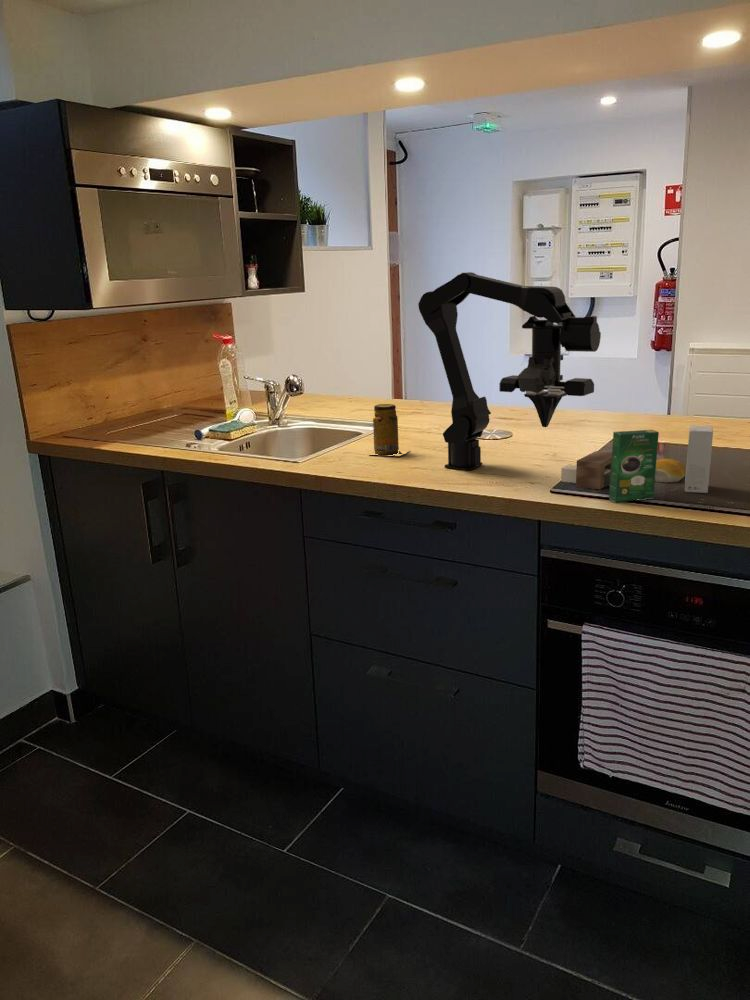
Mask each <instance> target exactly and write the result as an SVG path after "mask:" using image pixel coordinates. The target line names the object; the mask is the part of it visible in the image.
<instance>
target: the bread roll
mask: <svg viewBox="0 0 750 1000" xmlns="http://www.w3.org/2000/svg"><path fill="white" fill-rule="evenodd" d="M685 476H686V466H684V464H682V463H681V461H678V460H676V459H671V458H662V459H661V458H660V459H657V461H656V472H655V481H656V483H663V482H664V483H665V484H666V483H668V482H670V483H675V482H679V481H680V480H682V479H683V478H684V477H685Z"/></svg>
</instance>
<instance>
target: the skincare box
mask: <svg viewBox="0 0 750 1000" xmlns="http://www.w3.org/2000/svg"><path fill="white" fill-rule="evenodd" d="M713 434H714V428H713V426H712V425H691V424H690V425H689V431H688V442H687V443H688V444H687V455H686V466H685V469H686V475H685V476H684V477H685V478H684V492H686V493H698V494H699V493H700V494H702V493H703V494H708V492H709V482H710V473H711V471H710V470H711V460H712V450H713V449H712V448H713V439H714V438H713V437H714V435H713Z"/></svg>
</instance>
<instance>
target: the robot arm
mask: <svg viewBox="0 0 750 1000" xmlns="http://www.w3.org/2000/svg"><path fill="white" fill-rule="evenodd" d="M470 294H472V295H475V296H478V297H479V296H480V297H484V298H487V299H490V300H491V299H492V300H495V301H498V302H499V301H500V302H502V303H507V304H510V305H511V304H512V305H514V306H515V307H518V308H519V309H520V310H522V311H523V312H526V313H527V314H529V315H532V316H529V317H528V319H527V320H526V321H525V322H524V323H523V324H522V325H521V329H527V330H528V329H531V330H532V331H531V356H529V357H528V361H527V366H526V367H525V368H524V369H522V371H521V372H519V374H518V375H516V374H515V375H514V374H513V375H508V376H505V377H501V380H500V382H499V383H498V384H499V392H500V393H501V392H502V393H513V392H514V391H515V390H516V389H519V391H520V392H522V393H524V394H523V396H524V398H525V397H526V398H528V399H529V400H531V402H532V404H533V405H534V407H535V409H536V413H537V416H538V418H539V422H540V424H541V427H543V428H547V427H549V425H550V422H551V420H552V418H553V416H554V413H555V411H556V409H557V407H558V405H559V403H560V402H561V400H562V398H563V397H566V396H568V397H569V396H571V397H572V396H573V397H585V396H587V395H590V394H593V393H595V383H594V381H593V379H592V378H585V377H582V378H581V377H578V378H577V377H575V378H571V379H567V380H566V381H563V379H564V378H563V377H564V376H563V374H561V361H563V360H564V354H561V352H562V351H561V350H562V348H564V350H565V351H566V352H584V353H585V352H586V353H587V352H591V353H592V352H597V351H598V350H599V347H600V343H601V337H602V336H601V335H602V333H601V331H600V326H599V323H598V317H597V316H596V315H590V316H579V317H578V316H576V315H575V314H574V312H573V311H572V309H571V307H570V306H569V305H568V304H567V302H566V296H565V294H564V292H563V289H561V288H559V287H557V286H545V285H544V286H543V285H541V286H540V285H521V284H517V283H513V282H508V281H505V280H500V279H496V278H493V277H492V278H491V277H488V276H484V275H479V274H476V273H475V272H472V271H470V272H469V271H468V272H461V273H458V274H457V275H456V276H455V277H453V278H452V279H450V280H449V281H447V282H445V283H443V284H442V285H440V286H438V287H436V288H435V289H434V290H433V291H431V290H430V291H427V292H425V293H423V294H422V296H421V297H420V300H419V301H418V304H417V305H418V310H419V311H418V312H419V314H420V315H421V317H422V319H423V321H424V324H425V325H426V326H427V328H428V329H429V330H430V331H431V333H433V335H434V337H435V340H436V344H437V347H438V351H439V355H440V358H441V361H442V365H443V368H444V371H445V375H446V378H447V382H448V386H449V389H450V393H451V395H452V403H451V411H450V412H451V413H450V414H451V419H452V420H451V421H452V422H451V425H449V427H447V428H446V429H445V430H444V431H443V433H442V436H443V439H444V442H445V443H447V464H444V466H443V467H444V468H447V469H453V470H454V469H455V470H459V471H460V470H461V471H471V470H474V469H475V468H478V467H480V466H481V467H482V466H483V464H484V463H483V462H482V461H481V459H482V457H481V455H482V454H481V451H482V450H481V449H482V448H481V446H480V439H479V438H481V437H482V435H483V431H484V430H485V429H486V428H487V427H488V425H489V423H490V415H491V414H492V412H491V411H490V410H489V408H488V407H489V406H488V402H487V397H486V396H482V397H479V395H478V394H477V393H476V392H475V390H474V387H473V384H472V379H471V377H470V376H471V375H470V374H469V370H468V366H467V362H466V358H465V356H464V355H465V354H464V352H463V349H462V346H461V345H462V344H461V342H460V338H459V335H458V331H457V323H458V314H459V313H458V307H457V306H458V305H460V304H461V303H462V302H464V301H465V300H466V298H467V297H469V296H470ZM538 318H541V319H538ZM557 323H558V324H557ZM560 323H562V324H560Z"/></svg>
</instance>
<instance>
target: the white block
mask: <svg viewBox="0 0 750 1000" xmlns="http://www.w3.org/2000/svg"><path fill="white" fill-rule="evenodd" d="M576 469H577V464H576V465H575V464H567V465H565V466H564V467H562V468H561V471H560V472H561V473H560V474H561V475H560V477H561V478H560V479H561V480H560V482H563V483H570V482H572V484H576ZM610 475H611V470H610V469H605V472H604V487H607V486H609V487H608V488H610Z"/></svg>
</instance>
